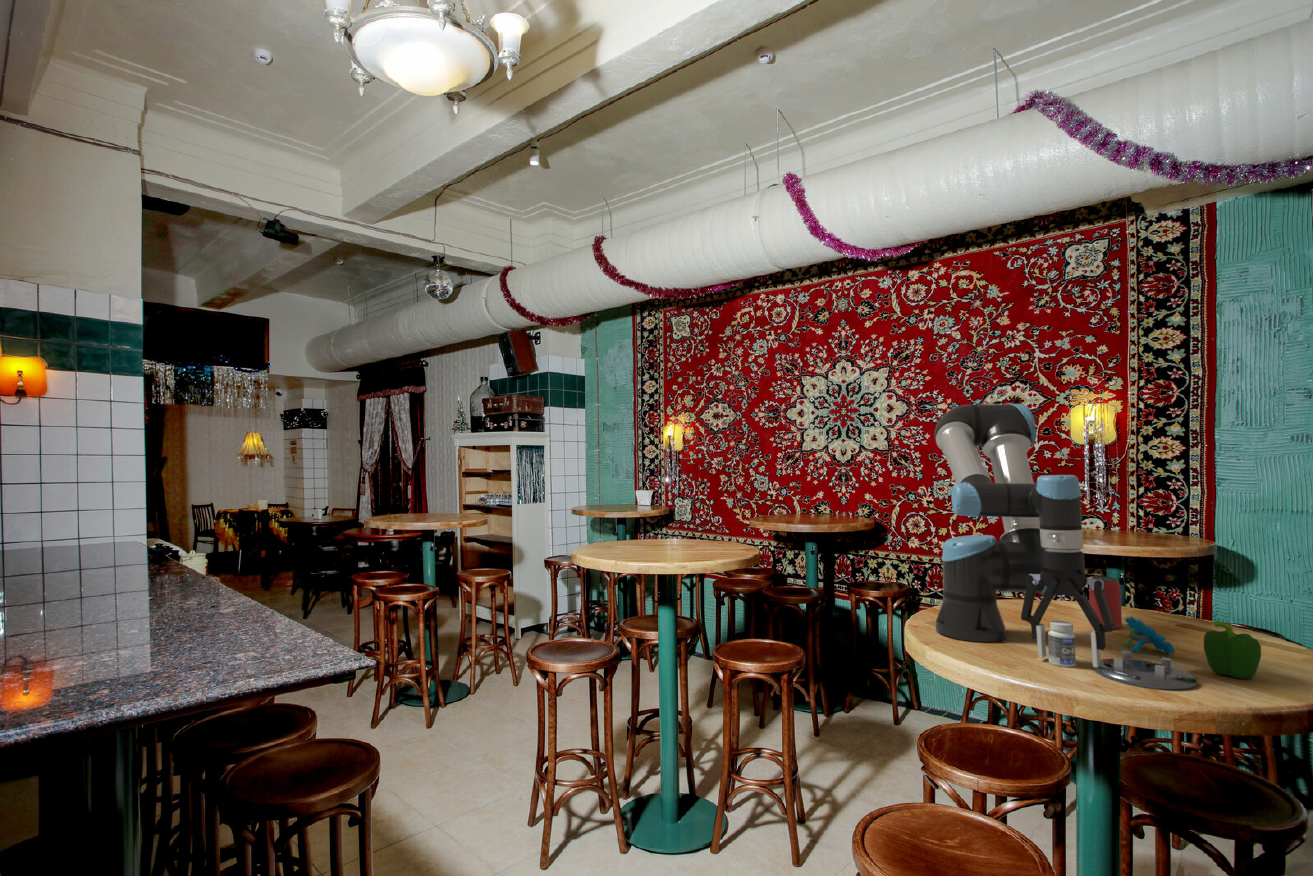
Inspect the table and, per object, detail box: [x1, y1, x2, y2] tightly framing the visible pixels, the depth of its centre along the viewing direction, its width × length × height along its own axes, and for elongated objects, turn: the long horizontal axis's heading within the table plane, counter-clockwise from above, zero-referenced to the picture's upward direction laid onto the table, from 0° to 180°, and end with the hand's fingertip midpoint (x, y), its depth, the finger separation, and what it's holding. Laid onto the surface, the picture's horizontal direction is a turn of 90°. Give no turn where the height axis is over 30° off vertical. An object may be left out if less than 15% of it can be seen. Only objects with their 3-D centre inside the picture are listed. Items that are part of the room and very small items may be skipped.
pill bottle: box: [1047, 620, 1077, 668], centre depth 134 cm, size 5×5×8 cm
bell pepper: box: [1203, 621, 1262, 680], centre depth 127 cm, size 8×8×10 cm
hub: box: [1092, 650, 1198, 691], centre depth 126 cm, size 16×16×3 cm
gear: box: [1123, 616, 1176, 655], centre depth 142 cm, size 11×6×10 cm
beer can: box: [1088, 575, 1123, 630], centre depth 163 cm, size 7×7×12 cm
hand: (1068, 660), depth 133 cm, fingers open, 9 cm apart
